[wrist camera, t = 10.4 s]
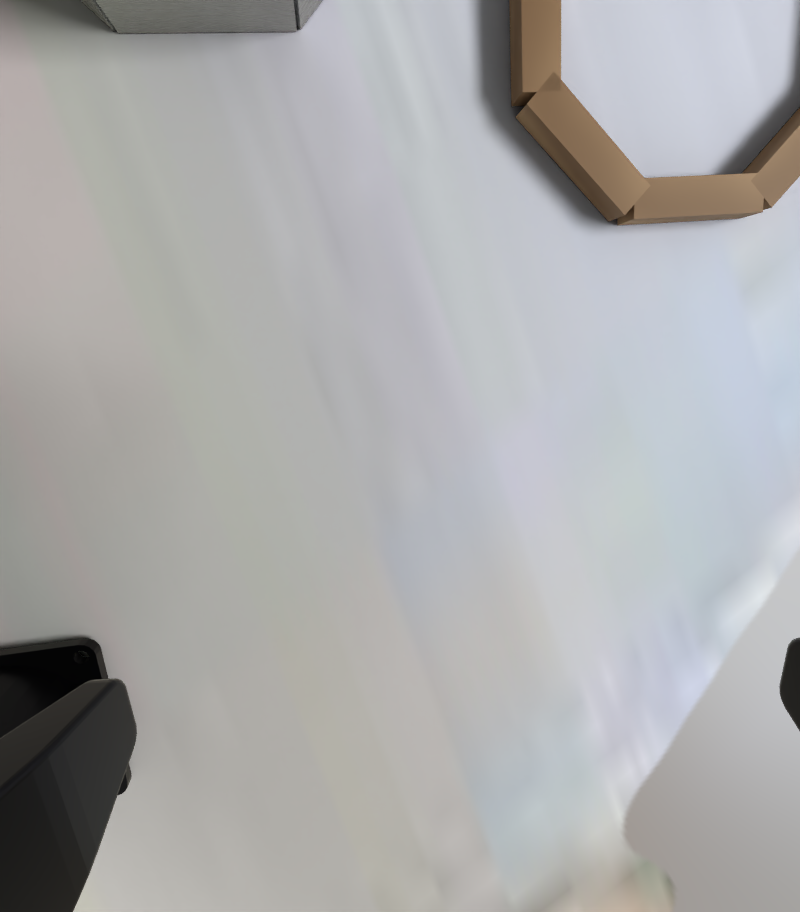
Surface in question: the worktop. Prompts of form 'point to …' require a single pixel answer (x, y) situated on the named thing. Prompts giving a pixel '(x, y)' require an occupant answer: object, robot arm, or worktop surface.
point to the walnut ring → (601, 161)
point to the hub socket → (203, 15)
